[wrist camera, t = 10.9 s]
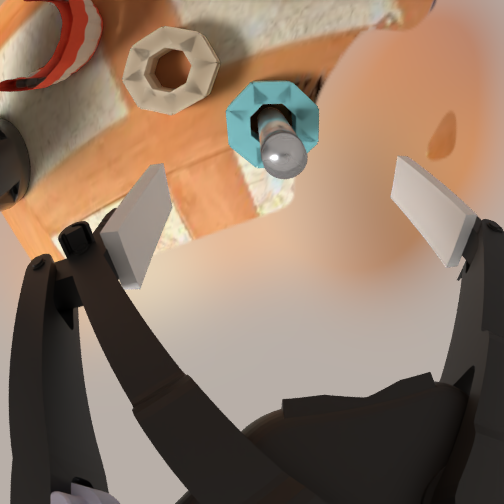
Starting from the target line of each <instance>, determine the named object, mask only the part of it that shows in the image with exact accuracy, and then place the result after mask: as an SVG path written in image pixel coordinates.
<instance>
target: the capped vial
mask: <svg viewBox="0 0 504 504" xmlns="http://www.w3.org/2000/svg"><path fill="white" fill-rule="evenodd" d="M257 124H258V131H259V139H260V146H261V149H260V152H261V159H262V162H263V165H264V168H265V169H266V171H267V172H268V173H269V174H271V175H272V176H274V177H276V178H280V179H289V178H293V177H295V176H297V175H298V174H300V173H301V172H302V171H303V169H304V168H305V166H306V164H307V152H306V149H305V147H304V145H303V143H302V141H301V140H300V138H299V137H298V136H297V135H296V133H295V132H294V130H293V129H292V127H291V126H290V124H289V123H288V121H287V120H286V119H285V117H284V116H283V114H282V113H281V112H280V111H279V110H278V109H276V108H266V109H263V110H262V111H261V112H260V113H259V115H258V117H257Z"/></svg>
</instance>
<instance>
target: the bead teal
mask: <svg viewBox="0 0 504 504" xmlns="http://www.w3.org/2000/svg"><path fill="white" fill-rule="evenodd" d="M263 104H283V105H285V106H286V107H287V108H288V109H289V110H290V111H291V112H292V129H293V130H294V132H295V133H296V135H297V136H298V137H299V138H300V140H301V141H302V143H303V145H304V147H305V149H306V152H307V153H308V152H309V151H310V150H311V149H312V148H313V147H314V146H315V145H317V142H318V133H319V109H318V106H317V105H316V104H315V103H314V102H313V101H312V100H310V99H309V98H308V97H307V96H306V95H305V94H304V93H303V92H302V91H301V90H300V89H299V88H298V87H297V86H296V85H295V84H294V83H292V82H290V81H287V80H273V81H253V83H252V82H250V83H249V84H248V85H247V86H246V88H245V89H244V90H243V91H242V92H241V93H240V94H239V95H238V96H237V97H236V98H235V99H234V100H233V101H232V102H231V103H230V105H229V106H228V108H227V110H226V119H227V130H228V142H229V145H230V147H231V148H232V149H234V150H235V151H236V152H237V153H239V154H240V155H241V156H242V157H244V158H245V159H246V160H247V161H249V162H250V163H251V164H252V165H253V166H255V167H257V166H258V168H264V165H263V162H262V159H261V152H260V149H261V146H260V139H259V135H258V134H257V133H256V132H255V131H253V130H252V129H251V123H250V117H251V116H252V115H253V114H254V113H255V112H256V111H257V110H258V109H259V108H260V107H261V106H262V105H263Z"/></svg>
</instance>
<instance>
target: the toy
mask: <svg viewBox="0 0 504 504" xmlns="http://www.w3.org/2000/svg"><path fill="white" fill-rule="evenodd" d="M24 1H46V2H50V4H51V5H55V6H56V7H57V8H58V10H59V11H60V14H61V17H62V30H61V37H60V41H59V43H58V45H57V47H56V50H55V52H54V54H53V56H52V58H51V59H50V60H49V62H48V63H47V64H46V65H45V66H44V67H43V68H39V69H38V70H37V71H34V72H31V73H29V76H28V78H24V77H20V78H17V79H12V80H5V81H2V82H1V83H0V91H8V92H12V91H25V90H33V89H40V88H45V87H48V86H50V85H52V84H56V83H58V82H59V81H63V80H65V79H67V78H68V77H69V76H70V75H71V74H73V73H75V72H77V71H78V70H79V69H80V68H81V67H83V66H84V65H85V64H86V63H87V62H88V61H89V60H90V59H91V57H92V56H93V55H94V53H95V51H96V48H97V46H98V44H99V40H100V38H101V34H102V30H103V20H102V17H101V15H100V13H99V10H98V8H97V7H96V6H95V5H93V3H92V1H91V0H24Z"/></svg>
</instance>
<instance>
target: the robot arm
mask: <svg viewBox="0 0 504 504" xmlns="http://www.w3.org/2000/svg"><path fill="white" fill-rule="evenodd" d="M29 179H30V163H29V157H28V152H27V149H26V146H25V143H24V141H23V138H22V137H21V135H20V133H19V132H18V130H17V129H16V128H15V127H14V125H12V124H11V123H10V122H9V121H7V120H4V119H0V212H1V211H4V210H6V209H9V208H11V207H12V206H14V205H15V204H16V203H17V202H18V201H19V200H20V199H21V198H22V197H23V196H24V195H25V193H26V191H27V188H28V185H29ZM391 198H392V200H393V201H394V202H395V203H396V204H397V205H398V207H399V208H400V209H401V210H402V211H403V212H404V214H405V215H406V216H407V217H408V218H409V220H410V221H411V222H412V223H413V224H414V226H415V227H416V228H417V229H418V231H419V232H420V233H421V234H422V236H423V237H424V238H425V240H426V241H427V242H428V243H429V245H430V246H431V248H432V249H433V250H434V251H435V253H436V254H437V256H438V257H439V258H440V260H441V261H442V263H443V264H444V265H445V267H455V266H458V264H459V261H460V259H461V256H463V257H464V258H465V259H466V262H465V264H464V266H463V269H462V271H461V273H460V275H459V277H458V279H457V280H458V281H459V280H460V278H462V281H461V289H460V296H459V302H458V309H457V314H456V320H455V325H454V330H453V334H452V339H451V343H450V347H449V351H448V355H447V359H446V362H445V366H444V369H443V373H442V376H441V379H440V381H439V382H434V380H433V378H432V375H431V373H430V372H428V373H425V374H422V375H418V376H414V377H411V378H407V379H403V380H400V381H398V382H396V383H394V384H392V385H390V386H389V387H387V388H385V389H383V390H381V391H379V392H377V393H376V394H373V395H371V396H369V397H364V398H360V397H344V396H330V395H319V396H311V397H302V398H293V399H283V400H282V408H281V409H280V410H277V411H274V412H271V413H269V414H266V415H264V416H262V417H260V418H259V419H257V420H255V421H254V422H252V423H251V424H250V425H248V426H247V427H246V428H245V429H243V430H242V431H239V429H238V428H237V427H235V425H234V424H233V423H232V422H231V421H230V420H229V419H228V418H227V417H226V416H225V415H224V414H223V413H222V412H221V411H220V410H219V408H217V406H216V405H215V404H214V403H213V402H212V401H211V400H210V399H209V397H208V396H207V395H206V394H205V393H204V392H203V391H202V390H201V389H200V387H199V386H198V385H197V384H196V383H195V382H194V381H193V379H192V378H191V377H190V376H189V375H186V374H184V373H183V371H182V370H181V369H180V368H179V367H178V365H177V364H176V363H175V362H174V360H173V359H172V358H171V356H170V355H169V354H168V352H167V351H166V350H165V348H164V347H163V346H162V344H161V343H160V342H159V340H158V339H157V338H156V336H155V335H154V333H153V332H152V331H151V329H150V328H149V326H148V325H147V324H146V322H145V321H144V319H143V318H142V316H141V315H140V313H139V312H138V311H137V309H136V307H135V306H134V304H133V303H132V301H131V300H130V298H129V297H128V295H127V294H126V292H125V291H124V289H140V288H141V285H142V282H143V280H144V277H145V274H146V272H147V269H148V266H149V264H150V261H151V258H152V256H153V253H154V251H155V248H156V246H157V243H158V241H159V238H160V236H161V233H162V231H163V228H164V226H165V223H166V221H167V219H168V216H169V214H170V212H171V209H172V203H171V199H170V194H169V189H168V184H167V179H166V174H165V169H164V164H163V163H161V164H154V165H150V166H149V167H148V169H147V170H146V171H145V172H144V174H143V175H142V176H141V177H140V179H139V180H138V181H137V182H136V184H135V185H134V186H133V187H132V189H131V190H130V191H129V193H128V194H127V195H126V197H125V198H124V199H123V201H122V202H121V203H120V205H119V206H118V208H114V209H113V210H111V211H110V212H109V213H108V214H106V216H105V217H104V218H103V220H102V222H101V223H100V224H99V225H98V227H97V228H96V230H95V231H94V232H93V234H92V231H91V228H90V226H89V223H87V222H86V221H81V222H76V223H74V224H71V225H70V226H68V227H66V228H65V229H64V230H63V231H62V232H61V233H60V235H59V237H58V240H59V242H60V244H61V246H62V248H63V251H64V253H65V255H66V257H67V259H64V260H61V261H58V262H55V263H54V261H53V259H52V257H51V255H49V254H43V255H40V256H38V257H35V258H34V259H33V260H32V261H31V263H30V264H29V265H28V267H27V269H26V272H25V276H24V280H23V284H22V288H21V293H20V298H19V302H18V308H17V313H16V319H15V325H14V332H13V341H12V348H11V359H10V375H9V423H10V438H11V448H12V455H13V461H12V473H11V497H10V498H11V500H10V504H120V503H119V502H118V501H117V500H116V499H115V498H114V497H113V496H111V495H110V494H109V492H108V487H107V482H106V475H105V471H104V468H103V464H102V460H101V456H100V453H99V449H98V446H97V442H96V438H95V434H94V430H93V425H92V421H91V416H90V411H89V406H88V400H87V395H86V388H85V382H84V375H83V368H82V360H81V359H82V358H81V349H80V337H79V319H78V307H80V306H84V308H85V311H86V313H87V316H88V318H89V320H90V322H91V325H92V327H93V330H94V332H95V334H96V337H97V339H98V341H99V343H100V345H101V347H102V349H103V351H104V353H105V356H106V358H107V360H108V362H109V363H110V366H111V367H112V369H113V371H114V373H115V375H116V377H117V379H118V381H119V382H120V384H121V386H122V388H123V389H124V391H125V393H126V395H127V396H128V398H129V400H130V402H131V403H132V405H133V409H132V411H133V414H134V416H135V418H136V419H137V421H138V423H139V424H140V426H141V427H142V429H143V431H144V432H145V433H146V435H147V436H148V438H149V439H150V441H151V442H152V444H153V445H154V447H155V448H156V450H157V451H158V452H159V454H160V455H161V456H162V458H163V459H164V460H165V462H166V463H167V464H168V466H169V467H170V468H171V470H172V471H173V472H174V473H175V475H176V476H177V477H178V478H179V480H180V481H181V482H182V483H183V484H184V486H185V487H186V488H187V489H188V491H187V492H186V493H185V494H184V495H183V497H181V498H180V499H179V500H178V501H177V502H176V503H175V504H504V231H503V229H502V228H501V227H500V226H499V225H498V224H497V223H496V222H494V221H491V220H488V219H483V220H481V219H480V218H479V217H478V216H477V214H476V213H475V212H474V211H473V210H472V209H470V207H468V206H467V205H466V204H465V203H464V202H463V201H462V200H461V199H460V198H458V197H457V196H456V195H455V194H454V193H453V192H452V191H451V190H450V189H448V188H447V187H446V186H445V185H444V184H443V183H441V182H440V181H439V180H438V179H436V178H435V177H434V176H433V175H431V174H430V173H429V172H428V171H426V170H425V169H424V168H422V167H421V166H420V165H419V164H417V163H416V162H415V161H413V160H412V159H411V158H409V157H406V156H397V162H396V169H395V175H394V181H393V187H392V193H391ZM118 279H119V280H120V282H121V284H120V283H119V281H118ZM121 285H122V286H121Z"/></svg>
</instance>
